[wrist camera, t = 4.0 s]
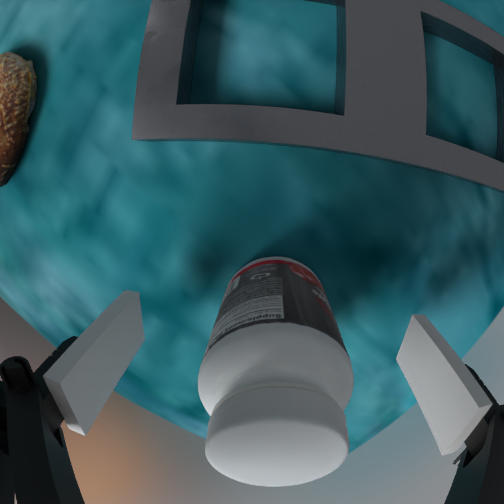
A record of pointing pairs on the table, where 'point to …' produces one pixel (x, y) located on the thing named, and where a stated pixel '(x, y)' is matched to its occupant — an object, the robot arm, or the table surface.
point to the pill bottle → (276, 378)
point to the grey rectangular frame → (347, 88)
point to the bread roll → (14, 109)
